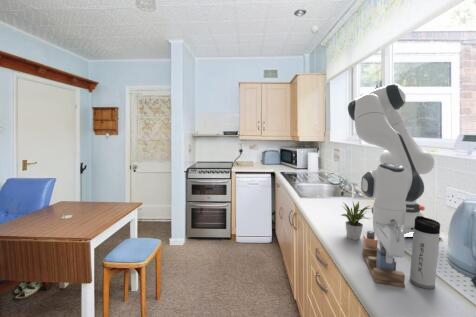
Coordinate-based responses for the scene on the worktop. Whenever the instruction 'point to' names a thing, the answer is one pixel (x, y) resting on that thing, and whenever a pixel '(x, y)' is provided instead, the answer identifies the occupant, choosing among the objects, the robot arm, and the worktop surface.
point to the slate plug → (383, 260)
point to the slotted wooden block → (382, 274)
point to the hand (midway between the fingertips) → (385, 257)
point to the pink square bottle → (370, 240)
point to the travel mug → (424, 252)
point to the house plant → (354, 221)
